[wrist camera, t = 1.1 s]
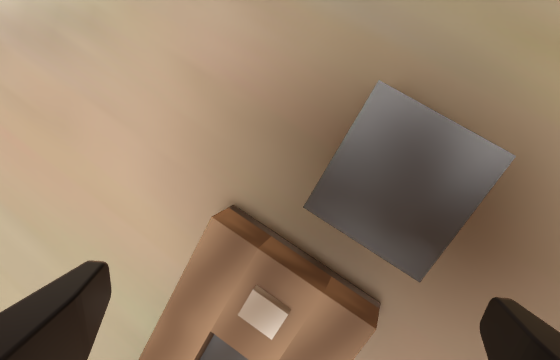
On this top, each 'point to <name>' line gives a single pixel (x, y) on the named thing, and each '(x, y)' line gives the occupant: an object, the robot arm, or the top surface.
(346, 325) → the socket box
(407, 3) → the top surface
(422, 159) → the dark grey block
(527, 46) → the top surface
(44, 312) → the robot arm
